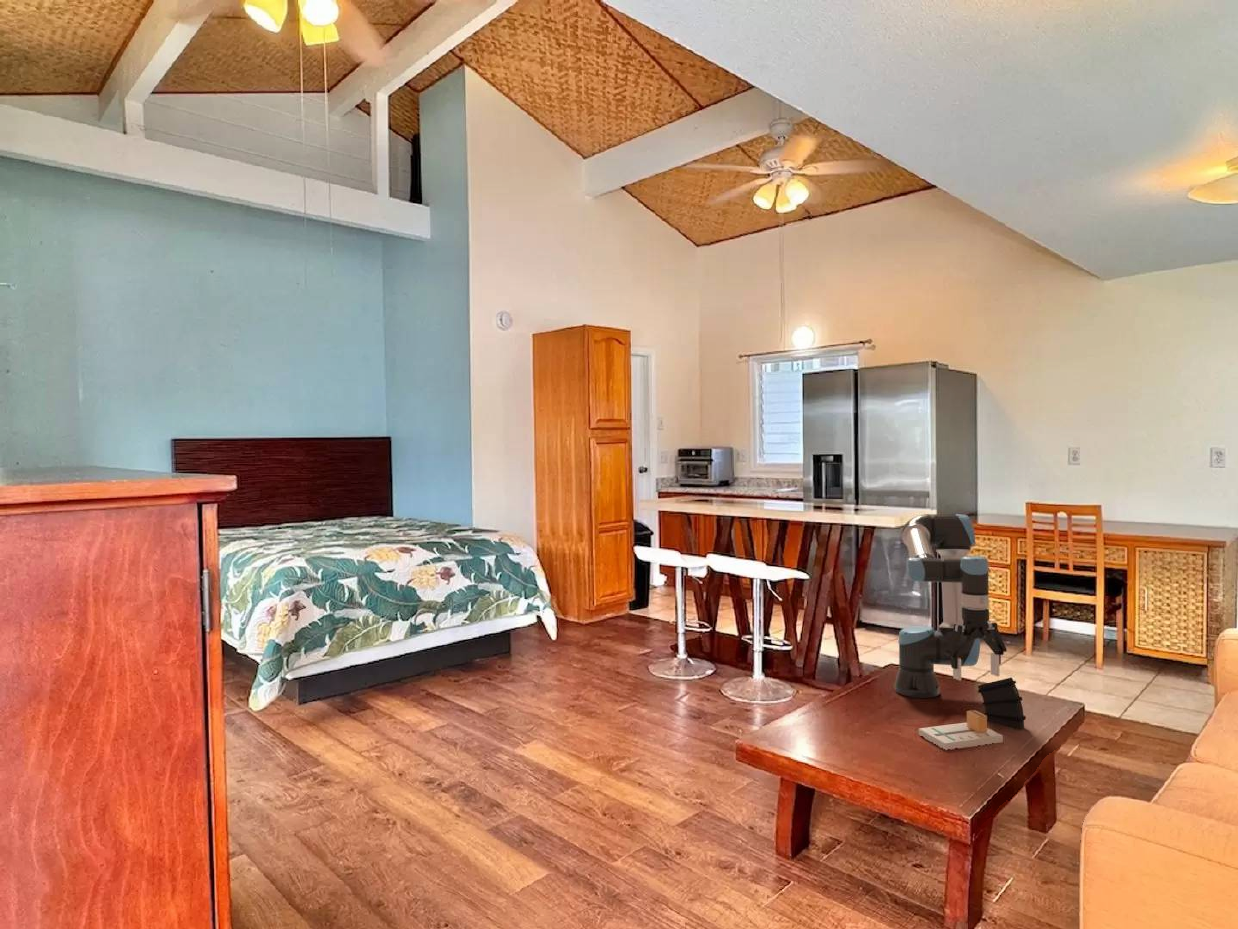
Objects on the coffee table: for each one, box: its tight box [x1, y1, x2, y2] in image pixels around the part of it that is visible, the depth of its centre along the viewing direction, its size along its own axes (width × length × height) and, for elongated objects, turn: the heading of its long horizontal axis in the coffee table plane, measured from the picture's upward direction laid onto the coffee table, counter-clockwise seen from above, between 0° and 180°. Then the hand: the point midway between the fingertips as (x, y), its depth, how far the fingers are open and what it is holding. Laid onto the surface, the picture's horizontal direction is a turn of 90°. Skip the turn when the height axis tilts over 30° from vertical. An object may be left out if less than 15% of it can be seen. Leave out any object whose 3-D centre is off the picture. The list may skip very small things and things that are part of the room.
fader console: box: [918, 721, 1004, 751], centre depth 220 cm, size 12×20×2 cm, turn 104°
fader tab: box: [966, 709, 988, 733], centre depth 221 cm, size 5×3×5 cm, turn 14°
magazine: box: [977, 677, 1027, 730], centre depth 231 cm, size 4×13×15 cm, turn 38°
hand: (976, 677), depth 221 cm, fingers open, 13 cm apart
